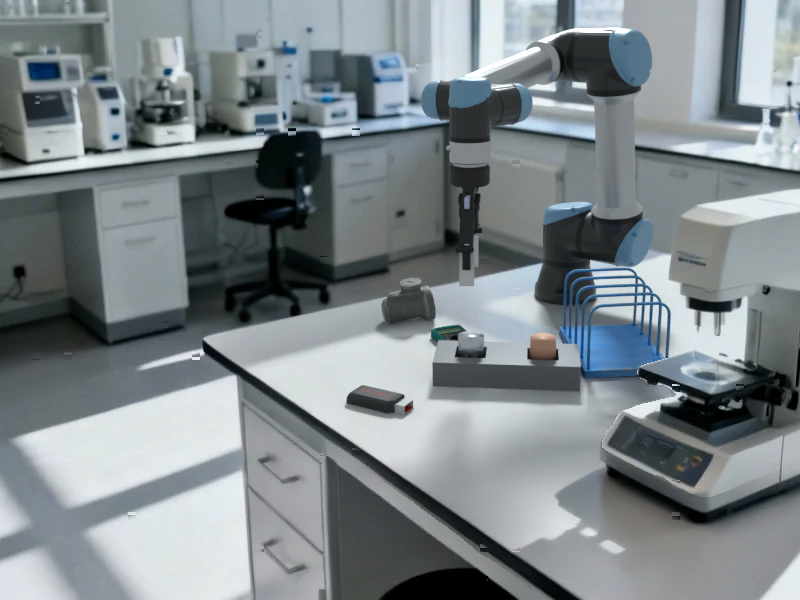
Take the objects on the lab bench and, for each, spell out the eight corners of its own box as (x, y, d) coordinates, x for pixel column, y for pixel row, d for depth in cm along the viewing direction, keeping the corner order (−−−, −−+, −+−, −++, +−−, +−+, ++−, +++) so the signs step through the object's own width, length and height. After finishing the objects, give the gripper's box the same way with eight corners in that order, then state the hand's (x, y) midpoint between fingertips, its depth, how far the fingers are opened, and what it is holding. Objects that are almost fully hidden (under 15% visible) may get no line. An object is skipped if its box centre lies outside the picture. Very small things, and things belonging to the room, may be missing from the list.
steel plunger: (484, 350, 184) (484, 331, 183) (483, 359, 179) (483, 340, 178) (459, 349, 185) (459, 330, 183) (457, 358, 180) (457, 339, 179)
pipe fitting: (431, 310, 220) (426, 271, 216) (439, 324, 213) (434, 283, 209) (381, 320, 218) (376, 280, 214) (388, 334, 211) (382, 293, 207)
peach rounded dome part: (555, 352, 182) (556, 333, 181) (556, 361, 177) (556, 342, 176) (529, 351, 183) (530, 332, 182) (529, 360, 178) (530, 341, 177)
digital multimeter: (457, 363, 191) (457, 349, 190) (429, 339, 204) (429, 327, 203) (489, 357, 193) (489, 344, 193) (460, 334, 207) (460, 322, 206)
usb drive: (361, 395, 177) (361, 381, 176) (416, 407, 171) (415, 394, 170) (346, 405, 172) (345, 391, 171) (401, 418, 166) (401, 404, 166)
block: (576, 367, 186) (577, 344, 185) (579, 391, 175) (580, 367, 173) (438, 362, 190) (438, 340, 188) (432, 386, 179) (432, 362, 177)
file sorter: (558, 334, 205) (561, 268, 200) (636, 332, 205) (640, 265, 200) (584, 379, 181) (587, 305, 176) (672, 376, 181) (677, 302, 177)
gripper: (454, 153, 182) (455, 258, 189) (442, 175, 160) (443, 294, 166) (493, 153, 181) (491, 259, 188) (486, 176, 158) (485, 295, 165)
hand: (469, 275), depth 177 cm, fingers open, 12 cm apart
